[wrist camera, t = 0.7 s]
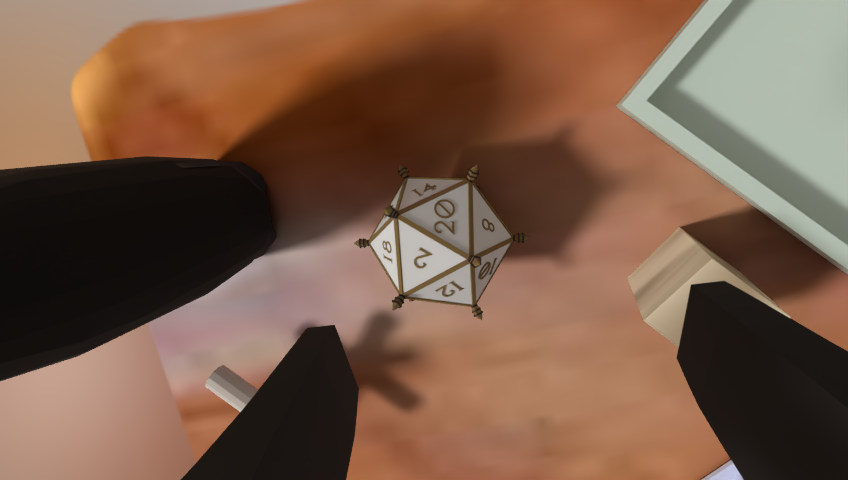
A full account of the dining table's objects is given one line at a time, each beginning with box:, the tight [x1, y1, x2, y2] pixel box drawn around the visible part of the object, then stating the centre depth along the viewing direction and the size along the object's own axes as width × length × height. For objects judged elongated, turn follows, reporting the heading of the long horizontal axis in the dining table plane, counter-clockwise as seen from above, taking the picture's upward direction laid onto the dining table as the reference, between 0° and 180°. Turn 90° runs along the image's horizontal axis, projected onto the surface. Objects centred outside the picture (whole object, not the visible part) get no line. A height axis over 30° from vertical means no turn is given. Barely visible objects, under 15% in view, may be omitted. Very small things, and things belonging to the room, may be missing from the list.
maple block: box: [627, 227, 791, 348], centre depth 22 cm, size 4×4×6 cm
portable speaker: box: [0, 156, 276, 381], centre depth 24 cm, size 9×9×20 cm
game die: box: [354, 165, 530, 320], centre depth 25 cm, size 9×8×10 cm
